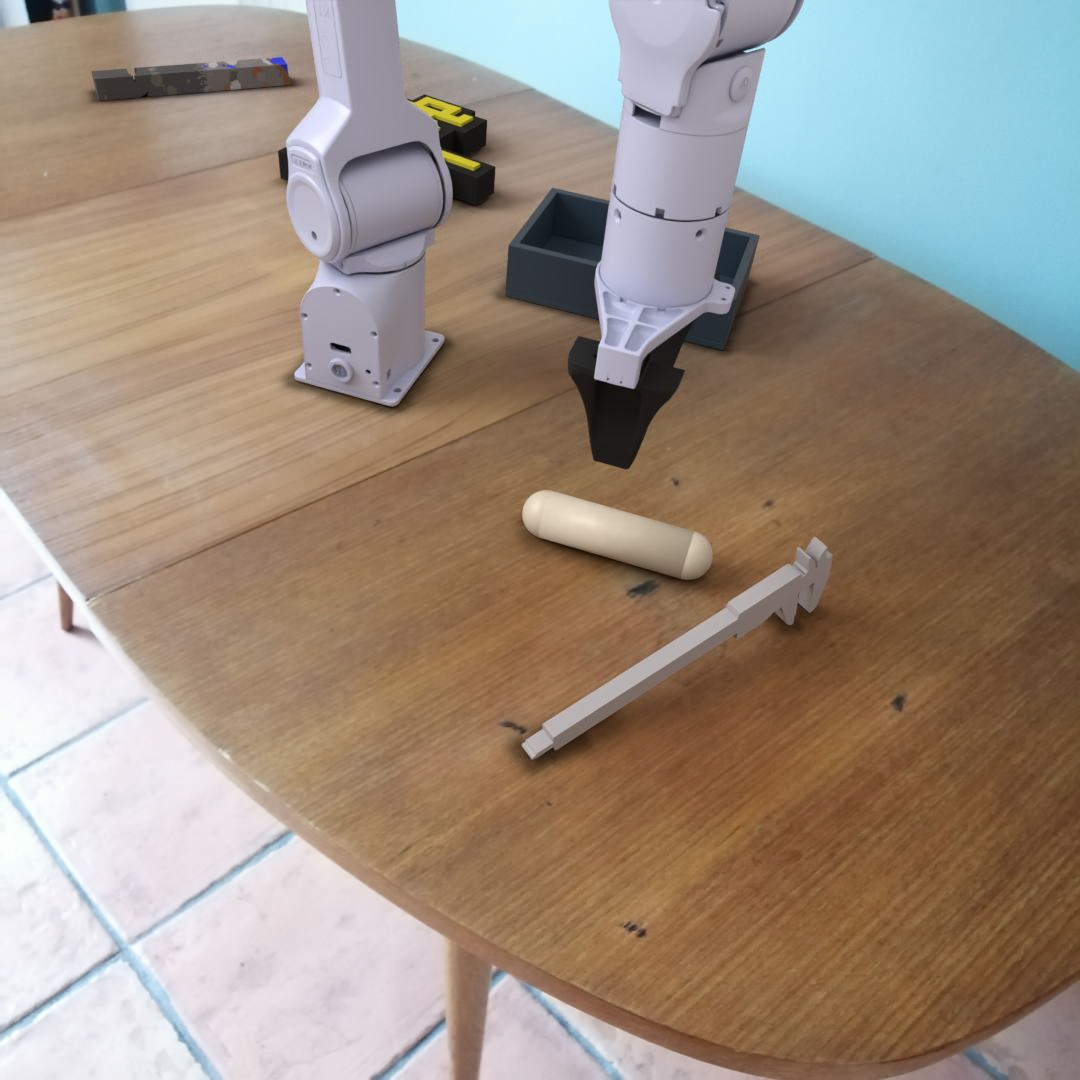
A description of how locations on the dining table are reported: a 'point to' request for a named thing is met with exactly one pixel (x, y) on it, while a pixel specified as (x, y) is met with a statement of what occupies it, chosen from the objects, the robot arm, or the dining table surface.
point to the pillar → (190, 78)
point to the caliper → (695, 645)
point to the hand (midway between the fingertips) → (629, 421)
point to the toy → (451, 149)
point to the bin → (576, 249)
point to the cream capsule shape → (618, 534)
